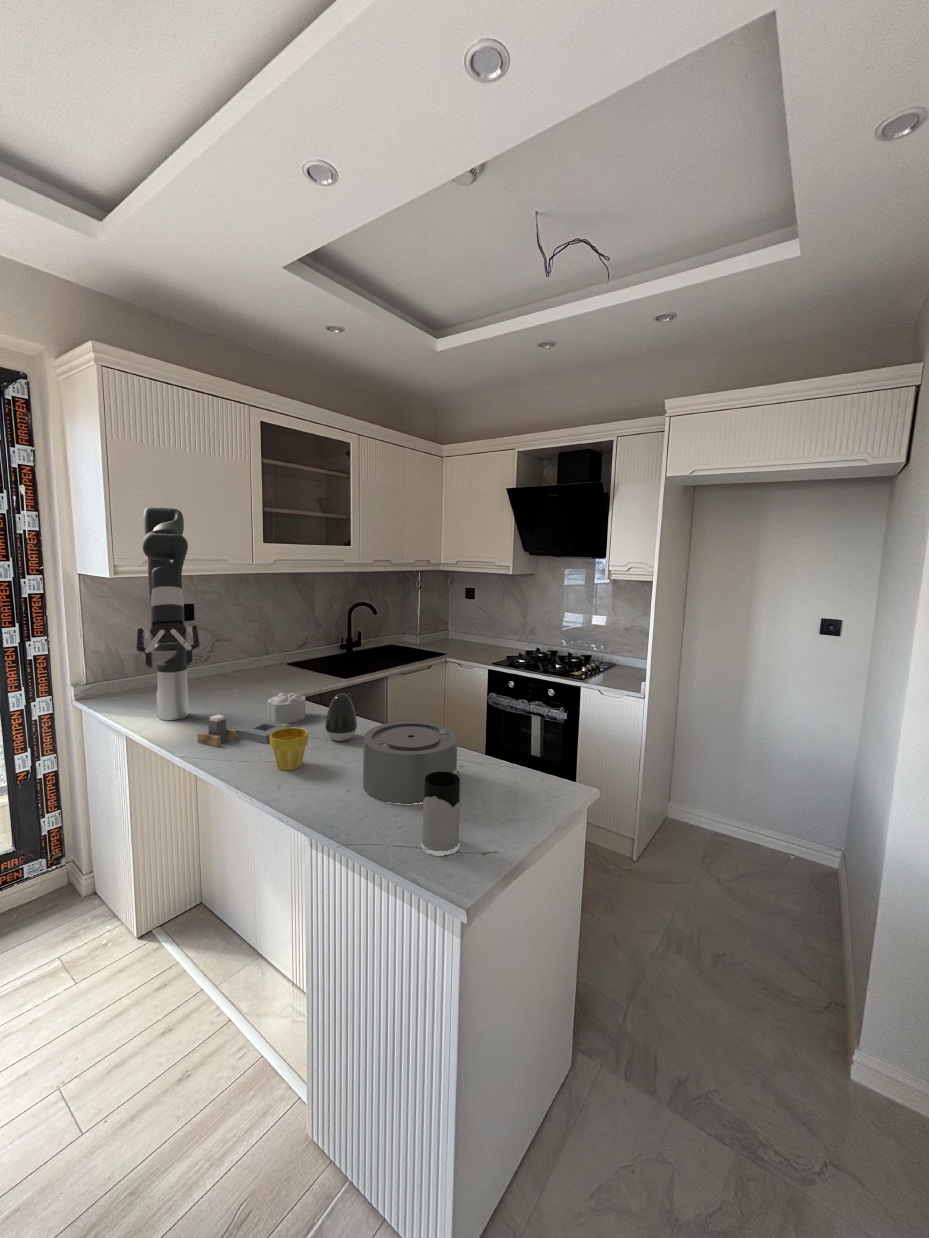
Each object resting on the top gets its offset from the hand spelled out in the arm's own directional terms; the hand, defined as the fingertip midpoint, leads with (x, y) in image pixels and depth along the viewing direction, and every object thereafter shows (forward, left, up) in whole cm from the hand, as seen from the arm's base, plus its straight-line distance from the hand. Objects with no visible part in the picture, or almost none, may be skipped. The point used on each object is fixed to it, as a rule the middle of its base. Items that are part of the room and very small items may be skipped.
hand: (169, 666), depth 136 cm
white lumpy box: (-7, +52, -31) cm, 61 cm away
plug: (-11, +24, -30) cm, 41 cm away
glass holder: (+78, +4, -31) cm, 84 cm away
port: (-2, +36, -30) cm, 47 cm away
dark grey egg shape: (+22, +44, -31) cm, 58 cm away
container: (+58, +25, -31) cm, 70 cm away
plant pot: (+22, +19, -31) cm, 42 cm away
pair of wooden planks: (-11, +25, -30) cm, 41 cm away
